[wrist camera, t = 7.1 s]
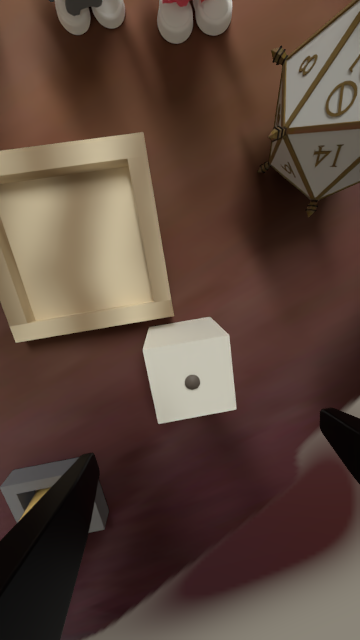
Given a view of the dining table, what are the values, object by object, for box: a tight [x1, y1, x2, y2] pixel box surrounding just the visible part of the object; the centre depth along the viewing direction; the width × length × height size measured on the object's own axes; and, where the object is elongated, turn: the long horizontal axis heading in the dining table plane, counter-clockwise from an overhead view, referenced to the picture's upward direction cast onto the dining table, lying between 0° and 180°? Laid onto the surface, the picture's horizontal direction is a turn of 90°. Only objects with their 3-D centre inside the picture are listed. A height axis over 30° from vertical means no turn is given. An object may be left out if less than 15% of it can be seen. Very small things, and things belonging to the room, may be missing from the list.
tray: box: [0, 132, 174, 343], centre depth 14 cm, size 11×11×2 cm
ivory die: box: [143, 317, 236, 424], centre depth 14 cm, size 5×5×5 cm
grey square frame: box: [0, 457, 109, 533], centre depth 18 cm, size 7×7×2 cm
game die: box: [258, 0, 360, 218], centre depth 10 cm, size 9×8×10 cm
